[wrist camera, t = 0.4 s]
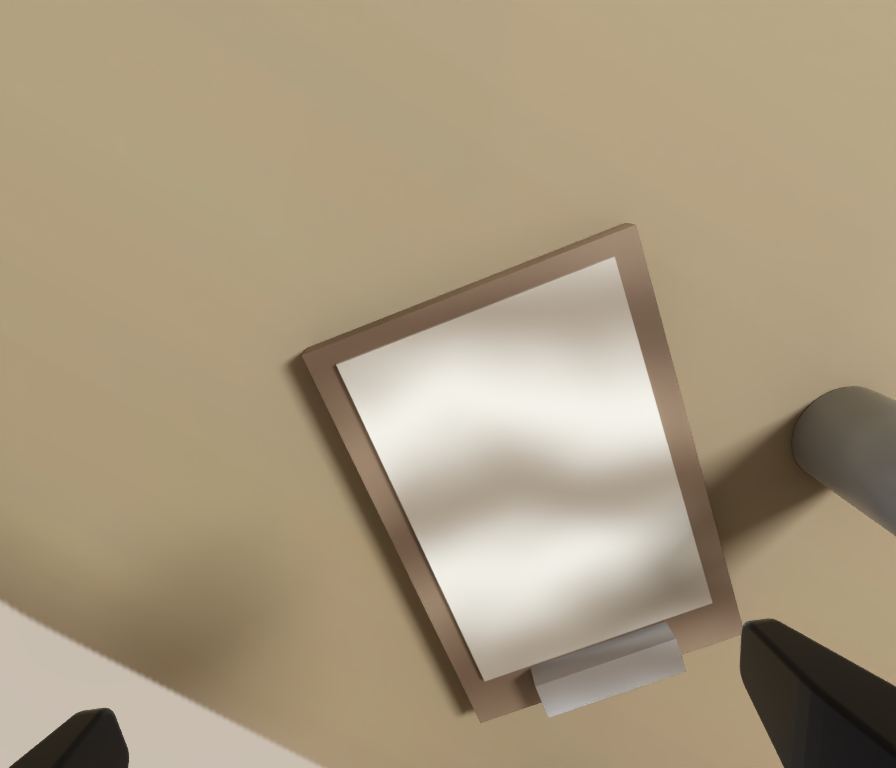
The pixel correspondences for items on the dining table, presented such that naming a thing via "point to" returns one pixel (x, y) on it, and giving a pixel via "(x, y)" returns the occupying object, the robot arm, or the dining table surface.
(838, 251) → the dining table surface
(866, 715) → the robot arm
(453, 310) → the clipboard
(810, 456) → the marker
